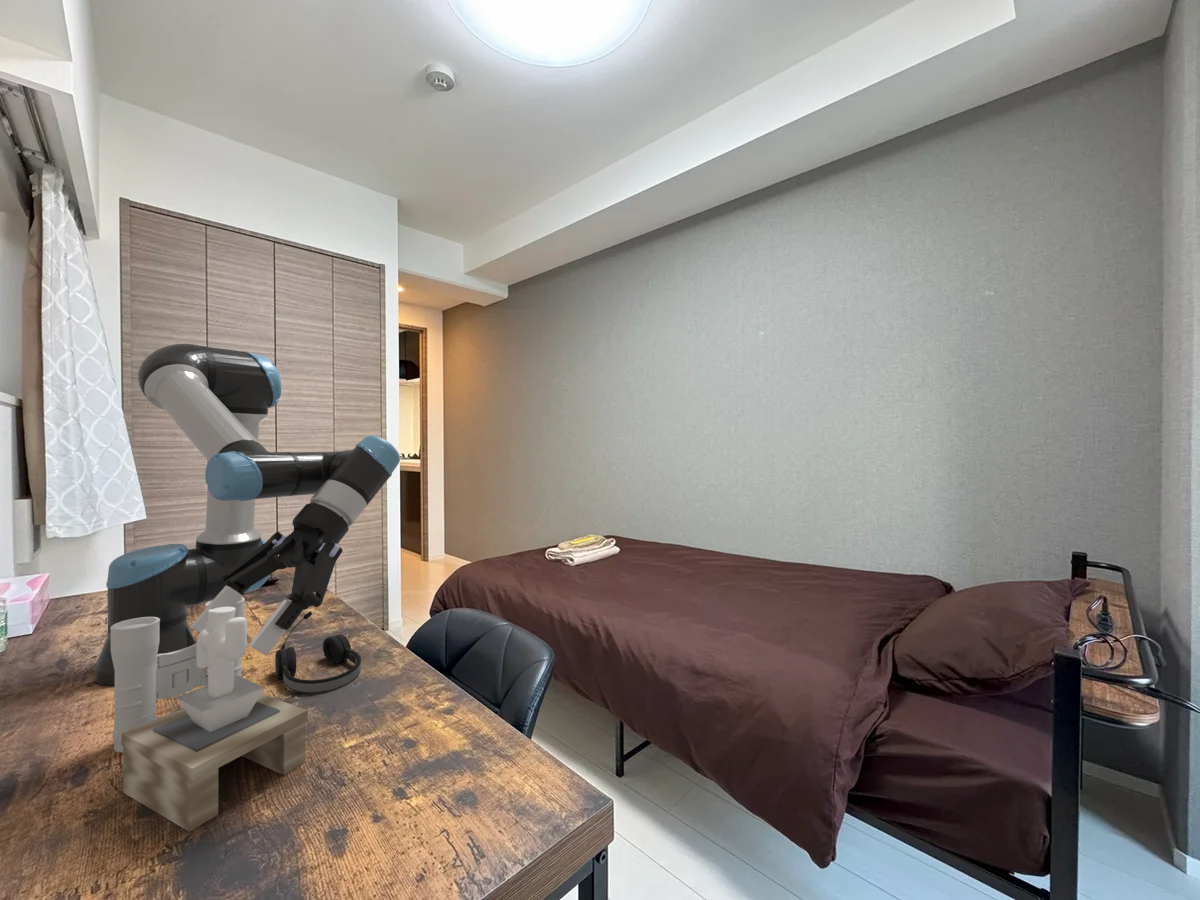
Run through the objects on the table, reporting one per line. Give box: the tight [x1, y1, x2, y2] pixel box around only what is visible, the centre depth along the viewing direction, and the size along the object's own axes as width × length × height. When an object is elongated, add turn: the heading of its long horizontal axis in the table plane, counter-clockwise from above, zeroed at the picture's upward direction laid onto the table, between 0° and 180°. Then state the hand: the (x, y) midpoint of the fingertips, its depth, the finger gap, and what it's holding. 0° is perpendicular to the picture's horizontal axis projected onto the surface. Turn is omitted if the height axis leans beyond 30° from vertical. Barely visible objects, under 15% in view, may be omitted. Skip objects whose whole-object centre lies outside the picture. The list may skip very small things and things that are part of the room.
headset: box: [274, 611, 362, 695], centre depth 98 cm, size 13×9×19 cm
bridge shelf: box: [121, 693, 309, 833], centre depth 67 cm, size 16×14×8 cm
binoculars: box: [110, 596, 246, 753], centre depth 80 cm, size 17×5×18 cm, turn 152°
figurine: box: [175, 607, 265, 732], centre depth 67 cm, size 7×9×15 cm
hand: (226, 641), depth 67 cm, fingers open, 13 cm apart
